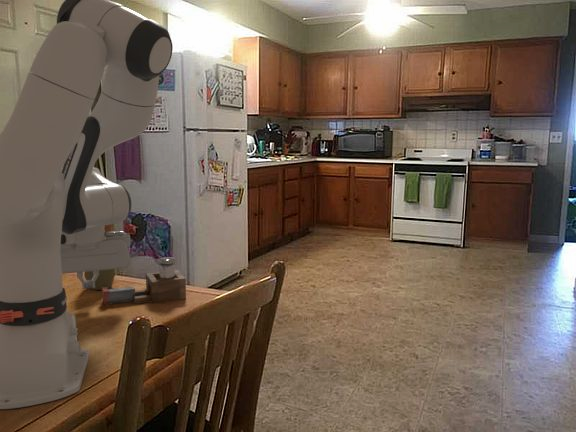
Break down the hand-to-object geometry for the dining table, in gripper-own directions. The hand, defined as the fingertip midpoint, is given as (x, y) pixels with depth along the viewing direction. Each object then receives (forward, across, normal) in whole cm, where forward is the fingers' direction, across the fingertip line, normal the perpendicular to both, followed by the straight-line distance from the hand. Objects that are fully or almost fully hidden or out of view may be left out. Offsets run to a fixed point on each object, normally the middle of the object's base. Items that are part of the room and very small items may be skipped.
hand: (88, 287), depth 127 cm
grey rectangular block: (+5, -7, -1) cm, 9 cm away
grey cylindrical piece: (+5, -19, -1) cm, 20 cm away
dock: (+5, -17, -1) cm, 18 cm away
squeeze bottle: (+5, -3, -14) cm, 16 cm away
